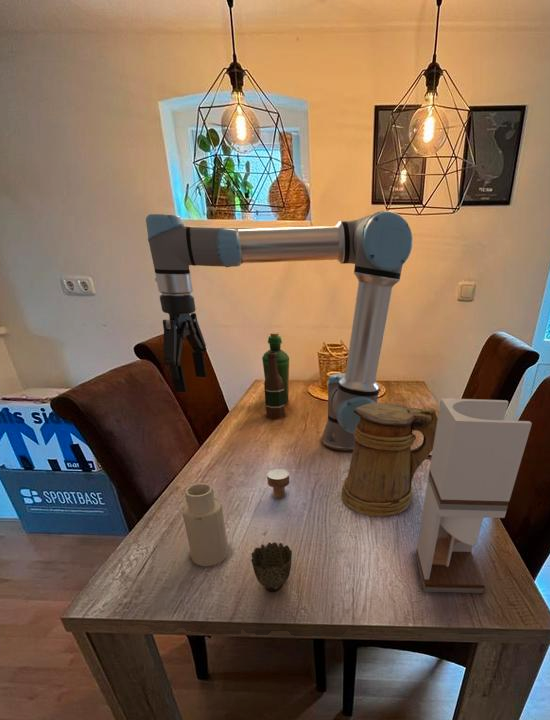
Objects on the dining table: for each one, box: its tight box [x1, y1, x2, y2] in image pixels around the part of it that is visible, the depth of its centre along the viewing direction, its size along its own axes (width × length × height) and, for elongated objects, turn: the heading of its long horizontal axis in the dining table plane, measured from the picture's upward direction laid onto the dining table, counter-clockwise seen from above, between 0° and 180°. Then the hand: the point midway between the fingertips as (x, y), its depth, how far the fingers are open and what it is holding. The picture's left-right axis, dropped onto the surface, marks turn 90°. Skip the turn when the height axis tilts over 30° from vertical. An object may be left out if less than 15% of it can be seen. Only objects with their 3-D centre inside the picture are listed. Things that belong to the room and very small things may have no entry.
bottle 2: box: [261, 332, 290, 405], centre depth 160 cm, size 11×11×28 cm
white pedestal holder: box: [415, 397, 533, 594], centre depth 72 cm, size 11×11×35 cm
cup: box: [251, 541, 293, 593], centre depth 74 cm, size 8×7×8 cm
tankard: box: [340, 402, 438, 517], centre depth 99 cm, size 18×24×25 cm
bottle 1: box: [181, 482, 229, 567], centre depth 79 cm, size 7×7×16 cm
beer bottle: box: [263, 352, 286, 420], centre depth 148 cm, size 8×8×24 cm
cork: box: [266, 468, 290, 499], centre depth 103 cm, size 6×6×6 cm
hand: (191, 383), depth 103 cm, fingers open, 13 cm apart
